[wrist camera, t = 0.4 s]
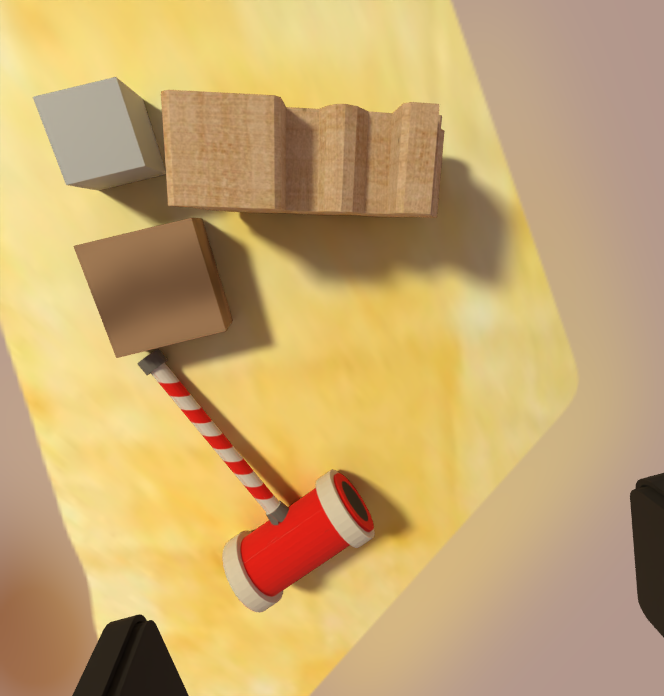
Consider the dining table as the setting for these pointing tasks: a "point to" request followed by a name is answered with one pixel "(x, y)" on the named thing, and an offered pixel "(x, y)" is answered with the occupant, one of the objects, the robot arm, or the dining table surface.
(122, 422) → the dining table surface
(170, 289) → the walnut block
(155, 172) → the slate brick
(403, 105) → the toy train
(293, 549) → the toy hammer
